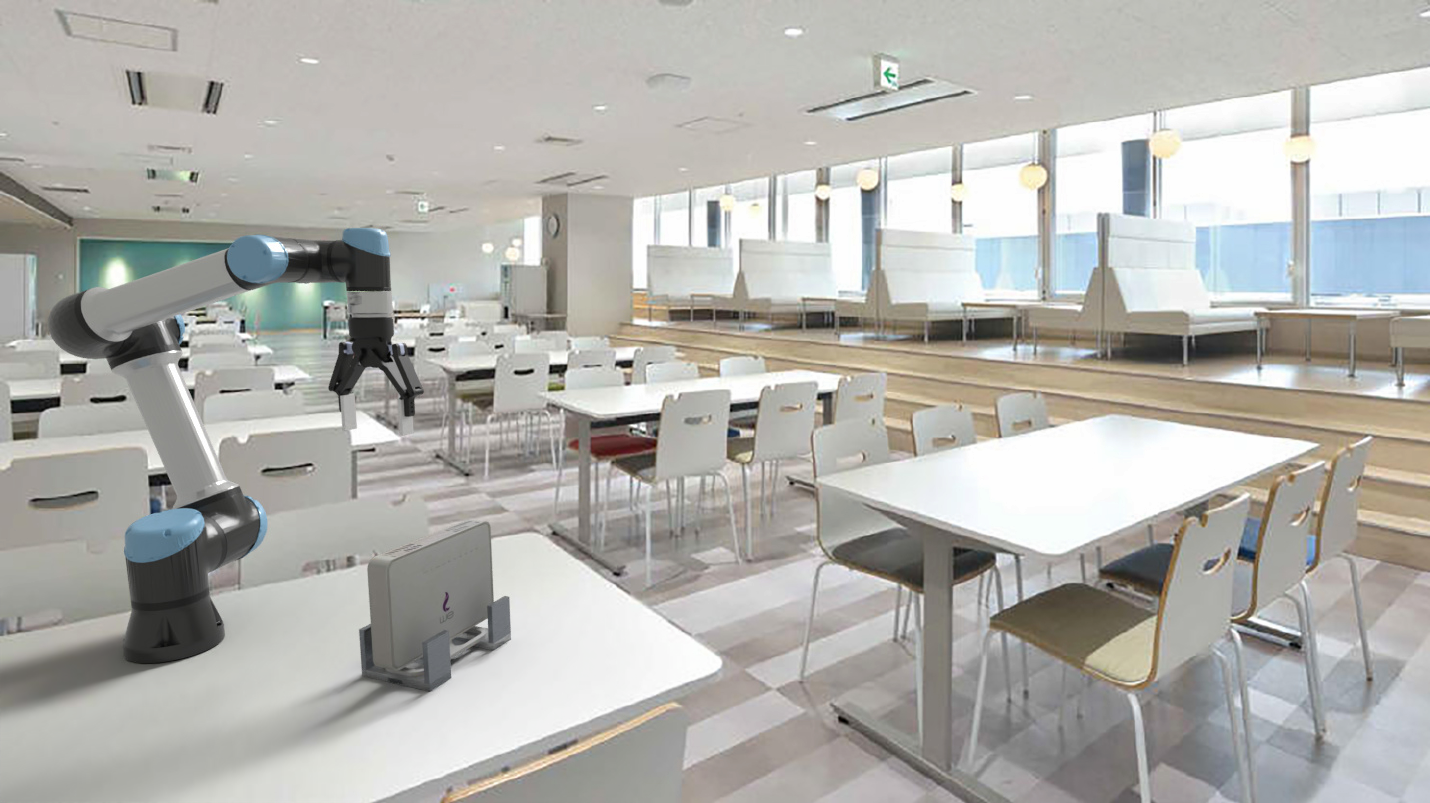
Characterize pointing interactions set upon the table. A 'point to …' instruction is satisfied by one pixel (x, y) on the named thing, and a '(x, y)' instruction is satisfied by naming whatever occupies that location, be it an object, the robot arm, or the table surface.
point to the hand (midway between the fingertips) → (377, 432)
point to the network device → (430, 593)
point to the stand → (438, 650)
